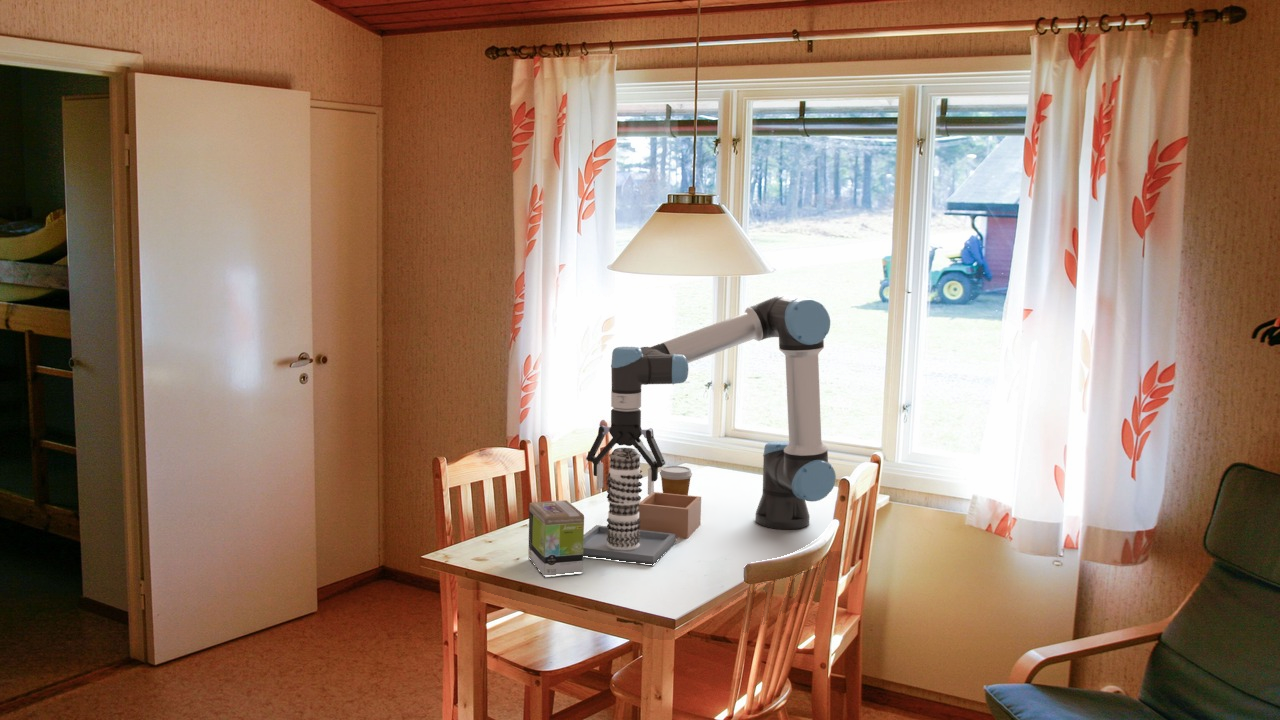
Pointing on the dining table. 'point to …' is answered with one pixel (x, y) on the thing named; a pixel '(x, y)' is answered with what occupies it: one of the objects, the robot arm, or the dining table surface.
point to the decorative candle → (624, 499)
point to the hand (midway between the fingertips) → (625, 491)
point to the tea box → (556, 537)
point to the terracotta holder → (670, 514)
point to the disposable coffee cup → (675, 479)
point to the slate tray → (647, 552)
